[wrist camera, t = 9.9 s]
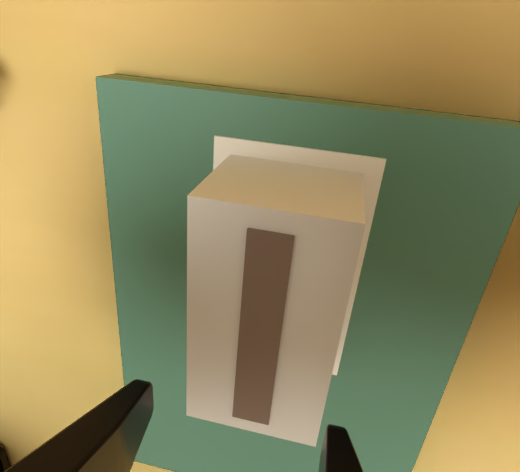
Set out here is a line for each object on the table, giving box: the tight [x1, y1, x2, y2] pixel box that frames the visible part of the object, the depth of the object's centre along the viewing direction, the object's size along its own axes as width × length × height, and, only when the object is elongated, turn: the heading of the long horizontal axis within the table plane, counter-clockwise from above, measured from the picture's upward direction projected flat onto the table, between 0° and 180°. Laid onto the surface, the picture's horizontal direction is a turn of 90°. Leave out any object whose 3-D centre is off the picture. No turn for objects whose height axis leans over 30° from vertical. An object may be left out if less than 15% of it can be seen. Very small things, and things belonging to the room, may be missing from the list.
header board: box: [96, 74, 520, 472], centre depth 17 cm, size 20×14×4 cm
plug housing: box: [186, 154, 366, 447], centre depth 13 cm, size 8×4×4 cm, turn 175°
